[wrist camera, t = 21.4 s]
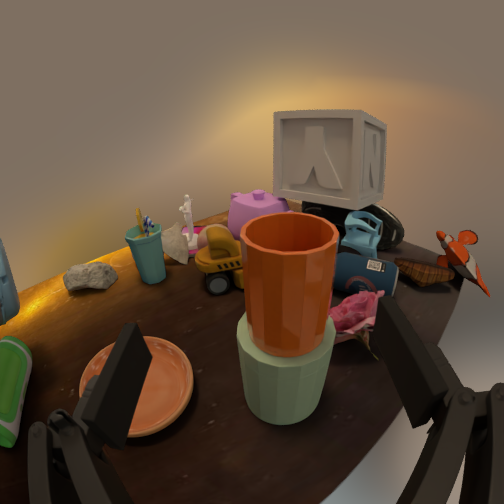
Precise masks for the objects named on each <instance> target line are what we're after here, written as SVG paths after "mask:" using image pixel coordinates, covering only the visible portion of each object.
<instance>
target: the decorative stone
mask: <svg viewBox="0 0 504 504" xmlns="http://www.w3.org/2000/svg"><path fill="white" fill-rule="evenodd" d="M117 279H118V275H117V273H116V272H115V270H114V269H113V268H112V267H111V266H110V265H108V264H106V263H101V262H94V263H89V264H79V265H75V266H72V267H71V268H69V269H68V271H67V272H66V274H65V275H64V276H63V280H64V284H65V286H66V288H67V290H68V291H73V290H79V289H82V288H90V287H91V288H96V289H108V288H109V287H110V286H111V285H112V284H113V283H114V282H115V281H116V280H117Z"/></svg>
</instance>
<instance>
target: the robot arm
mask: <svg viewBox="0 0 504 504" xmlns="http://www.w3.org/2000/svg"><path fill="white" fill-rule="evenodd" d="M19 309H20V302H19V298H18V294H17V290H16V286H15V283H14V280H13V276H12V273H11V270H10V266H9V262H8V259H7V256H6V252H5V249H4V246H3V243H2V240H1V239H0V326H1V325H4V324H6V322H7V321H8V320H10V319H11V318H13V317H14V316H16V315H17V314H18V312H19ZM372 336H373V338H374V340H375V342H376V344H377V346H378V348H379V350H380V353H381V355H382V357H383V359H384V361H385V364H386V366H387V368H388V370H389V372H390V375H391V377H392V379H393V381H394V384H395V386H396V388H397V391H398V393H399V396H400V398H401V400H402V403H403V405H404V408H405V410H406V412H407V415H408V417H409V420H410V423H411V425H412V428H416V427H419V426H421V425H424V424H426V423H428V421H429V420H430V418H431V417H432V419H433V422H434V423H433V424H432V426H431V427H430V428H429V430H428V432H427V434H428V433H429V432H430V433H429V435H428V438H427V441H426V443H425V446H424V448H423V450H422V453H421V455H420V458H419V460H418V462H417V464H416V466H415V468H414V471H413V473H412V475H411V477H410V479H409V481H408V483H407V485H406V486H405V489H404V490H403V492H402V494H401V496H400V497H399V499H398V501H397V503H396V504H446V502H447V500H448V498H449V496H450V493H451V491H452V488H453V486H454V484H455V481H456V478H457V476H458V473H459V470H460V467H461V464H462V461H463V458H464V455H465V465H464V474H463V481H462V488H461V494H460V499H459V504H504V383H497V384H495V385H494V386H493V387H492V388H491V390H490V391H484V392H474V391H473V390H472V389H470V388H468V387H464V386H463V385H462V384H461V382H460V380H459V378H458V377H457V375H456V373H455V372H454V370H453V368H452V367H451V365H450V364H449V363H448V360H447V359H446V357H445V356H444V354H443V353H442V351H441V349H440V348H439V347H438V346H436V345H435V344H434V343H433V342H430V343H427V344H423V343H422V341H421V340H420V338H419V336H418V335H417V333H416V332H415V330H414V329H413V327H412V325H411V324H410V322H409V321H408V319H407V318H406V316H405V315H404V313H403V312H402V310H401V309H400V307H399V306H398V304H397V303H396V301H395V300H394V299H393V297H392V296H391V295H388V296H383V297H378V304H377V311H376V317H375V323H374V328H373V334H372ZM152 358H153V356H152V354H151V352H150V350H149V348H148V346H147V344H146V342H145V340H144V338H143V336H142V334H141V332H140V329H139V327H138V325H137V323H125V325H124V327H123V328H122V330H121V332H120V334H119V336H118V338H117V340H116V342H115V344H114V346H113V348H112V350H111V352H110V354H109V356H108V358H107V360H106V362H105V364H104V366H103V368H102V370H101V372H100V375H94V376H93V377H92V378H91V379H90V380H89V381H88V383H87V385H86V387H85V391H83V393H82V397H80V400H79V402H78V404H77V406H76V408H75V411H74V413H73V415H72V417H71V416H70V415H69V414H68V413H67V412H66V411H65V410H64V409H57V410H55V411H53V412H52V413H51V414H50V415H49V417H48V420H47V425H48V426H49V427H47V426H46V425H45V424H44V423H42V422H35V423H34V424H32V425H31V427H30V428H29V432H28V487H29V499H30V504H134V502H133V501H132V499H131V497H130V496H129V494H128V492H127V491H126V489H125V487H124V485H123V483H122V482H121V480H120V478H119V476H118V474H117V472H116V470H115V468H114V466H113V464H112V462H111V460H110V458H109V456H108V454H107V452H106V450H105V449H104V447H103V446H104V443H106V444H107V445H108V446H109V447H110V448H114V449H119V450H124V447H125V443H126V440H127V436H128V433H129V429H130V426H131V423H132V419H133V416H134V413H135V410H136V406H137V403H138V400H139V397H140V394H141V391H142V388H143V385H144V382H145V379H146V376H147V373H148V370H149V367H150V364H151V361H152ZM465 452H466V454H465Z"/></svg>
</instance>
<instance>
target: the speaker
mask: <svg viewBox="0 0 504 504" xmlns="http://www.w3.org/2000/svg"><path fill="white" fill-rule="evenodd" d="M31 369H32V354H31V351H30V350H29V348H28V347H27V346H26V345H25V344H24V343H23V342H22V341H21V340H19V339H17V338H15V337H12V336H5V337H3V338H2V339H1V340H0V445H1V446H4V447H8V448H11V447H13V446H14V444H15V442H16V440H17V437H18V433H19V426H20V420H21V414H22V408H23V403H24V398H25V394H26V389H27V385H28V381H29V377H30V373H31Z"/></svg>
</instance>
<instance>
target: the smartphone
mask: <svg viewBox="0 0 504 504" xmlns="http://www.w3.org/2000/svg"><path fill="white" fill-rule="evenodd" d="M193 227H194V233H195V234H198V235H199V233H200V232H201V231H202V230H203V229H204V228H205V227H207V226H193ZM181 233H182V234H185V233H189V231H188V228H187V226H186V227H183V228H182V230H181ZM198 251H199V250H198V248H197V249H194V250H189V256H188V257H195V255H196V253H197V252H198Z"/></svg>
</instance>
